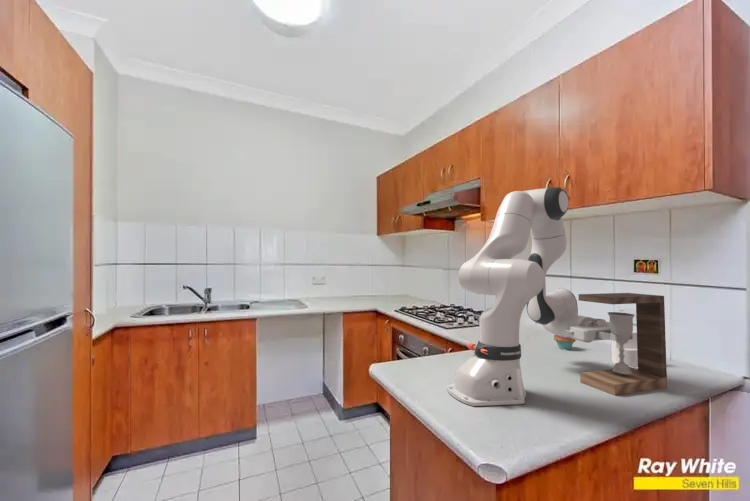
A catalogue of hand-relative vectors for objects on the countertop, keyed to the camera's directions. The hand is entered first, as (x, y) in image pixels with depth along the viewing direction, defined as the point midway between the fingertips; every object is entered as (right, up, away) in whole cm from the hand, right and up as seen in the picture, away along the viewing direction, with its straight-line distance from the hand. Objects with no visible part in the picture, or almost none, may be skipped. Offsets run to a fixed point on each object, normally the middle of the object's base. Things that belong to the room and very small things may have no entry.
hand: (624, 337), depth 103 cm
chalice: (0, -11, 0) cm, 11 cm away
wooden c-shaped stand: (0, -15, 0) cm, 15 cm away
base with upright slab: (+19, -16, +23) cm, 34 cm away
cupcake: (+8, -17, +45) cm, 49 cm away
